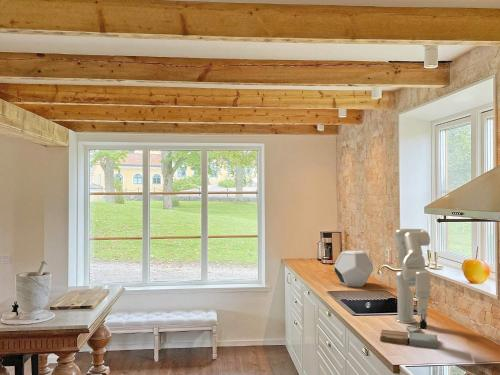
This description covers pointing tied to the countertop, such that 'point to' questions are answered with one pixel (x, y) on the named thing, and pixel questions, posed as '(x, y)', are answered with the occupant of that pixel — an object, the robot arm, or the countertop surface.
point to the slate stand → (423, 340)
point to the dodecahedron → (353, 268)
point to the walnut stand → (394, 337)
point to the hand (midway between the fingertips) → (423, 328)
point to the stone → (414, 329)
